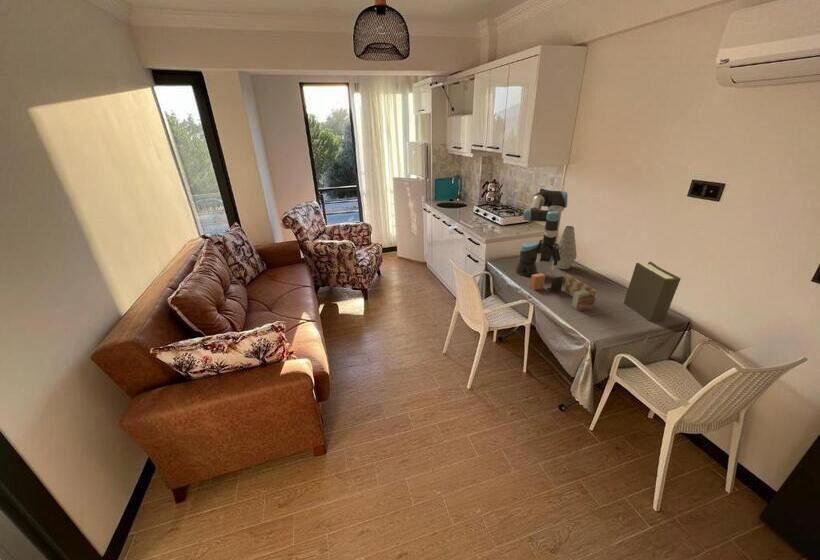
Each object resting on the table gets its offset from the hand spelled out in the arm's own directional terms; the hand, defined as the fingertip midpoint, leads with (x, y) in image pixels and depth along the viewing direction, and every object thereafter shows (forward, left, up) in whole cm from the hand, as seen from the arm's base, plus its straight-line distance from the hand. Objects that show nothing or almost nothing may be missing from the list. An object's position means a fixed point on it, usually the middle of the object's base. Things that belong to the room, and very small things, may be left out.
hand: (545, 265), depth 219 cm
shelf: (+20, +7, -17) cm, 28 cm away
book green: (+28, +6, -17) cm, 33 cm away
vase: (-24, +37, -18) cm, 48 cm away
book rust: (-2, -3, -17) cm, 18 cm away
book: (+47, +36, -18) cm, 62 cm away
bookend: (+4, +6, -17) cm, 19 cm away
